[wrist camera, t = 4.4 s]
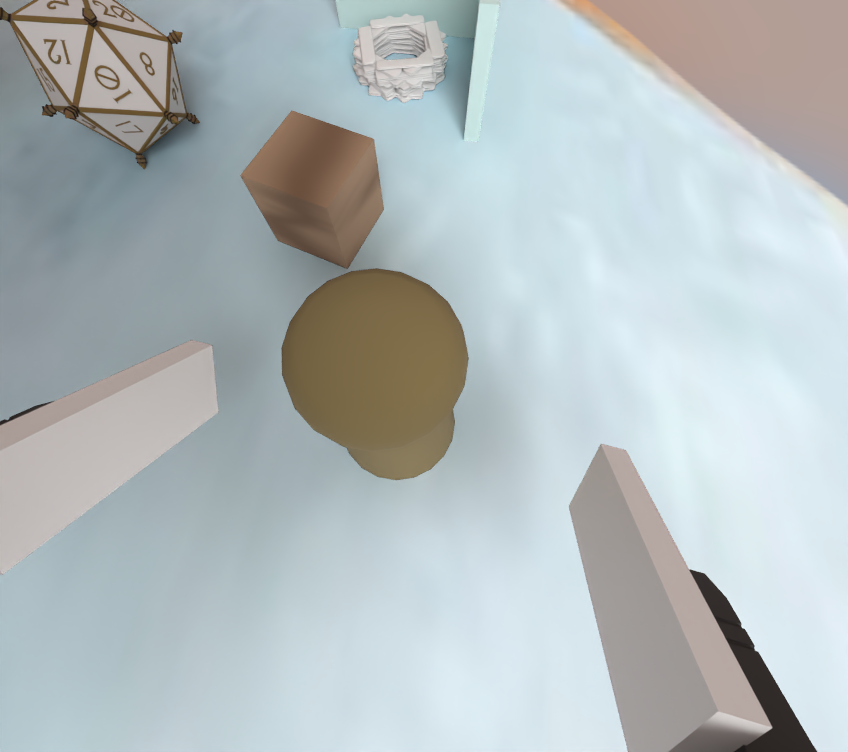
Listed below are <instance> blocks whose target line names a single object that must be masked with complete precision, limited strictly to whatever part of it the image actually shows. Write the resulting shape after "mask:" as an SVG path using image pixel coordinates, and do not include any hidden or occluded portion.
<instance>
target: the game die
mask: <svg viewBox="0 0 848 752" xmlns="http://www.w3.org/2000/svg"><path fill="white" fill-rule="evenodd" d="M2 19H3V20H6V21H8V22H10V24H11V26H12V28H13V30H14V32H15V34H16V36H17V38H18V40H19V42H20V44H21V46H22V48H23V50H24V52H25V54H26V56H27V58H28V60H29V61H30V63H31V65H32V67H33V69H34V71H35V73H36V75H37V77H38V79H39V81H40V83H41V85H42V87H43V89H44V91H45V93H46V95H47V97H48V99H49V101H50V103H51V105H47V104H46V106H45V107H44V106H42V108H43V112H42V115H47V116H50V117H53V115H54V114H56V112H57V111H59V112H61V113H62V114H64V115H65V117H66V118H70V119H73V120H75V121H77V122H79V123H81V124H83V125H84V126H86V127H88V128H90V129H92V130H94V131H95V132H97V133H99V134H101V135H103V136H105V137H106V138H108V139H110V140H112V141H114V142H116V143H117V144H119V145H121V146H123V147H125V148H127V149H128V150H130V151H132V152H134V153H135V154H136V159H137V163H138V164H139V165H140V166H141V167H142V168H143V169H145V165H146V163H147V162H146V161H145V158H144V157H143V155H142V153H143V152H144V151H146V150H147V149H148V148H149V147H150V146H152V145H153V144H154V143H155V142H157V141H158V140H159V139H160V138H162V137H163V136H164V135H165V134H166V133H168V132H169V131H170V130H171V129H173V128H174V127H175V126H176V125H178V124H179V123H180V122H181V121H182V120H184V119H185V118H187V119H188V121H191V122H192V123H194V124H195V123H200V122H199V121H198V120H197V118H196V116H195V115H192V113H190V114H189V113H187V112H186V107H185V103H184V98H183V93H182V89H181V84H180V80H179V75H178V70H177V66H176V61H175V57H174V52H173V47H172V44H173V43H176V44H178V42H180V43H181V37H182V32H176V31H174V30H172V31H173V32H172V33H169V36H168V37H166V36H165V35H163V34H162V33H161V32H159V31H158V30H156V29H155V28H153V27H152V26H151V25H149V24H148V23H146V22H145V21H143V20H142V19H141V18H139V17H138V16H136V15H135V14H134V13H132V12H131V11H129V10H128V9H126V8H125V7H124V6H122V5H121V4H119V3H118V2H117V1H115V0H33V1H32V2H30V3H28V4H27V5H25V6H24V7H22V8H20V9H19V10H17V11H15V12H14V13H12V14H8V13H7V12H5V11H4V10H3V8H2V7H1V8H0V20H2Z"/></svg>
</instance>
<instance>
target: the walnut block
mask: <svg viewBox="0 0 848 752" xmlns="http://www.w3.org/2000/svg"><path fill="white" fill-rule="evenodd" d="M240 176H241V178H242V179H243V181H244V183H245V185H246V186H247V188H248V190H249V191H250V193H251V195H252V197H253V198H254V200H255V202H256V204H257V205H258V207H259V209H260V211H261V212H262V214H263V216H264V217H265V219H266V221H267V223H268V224H269V226H270V228H271V230H272V231H273V233H274V235H275V237H276V238H277V240H278V241H280V242H282V243H285V244H287V245H290V246H292V247H295V248H297V249H300V250H302V251H305V252H307V253H310V254H312V255H314V256H317V257H319V258H322V259H324V260H327V261H329V262H332V263H334V264H337V265H339V266H342V267H344V268H347V269H348V267H349V266H350V264H351V262H352V261H353V259H354V257H355V256H356V254H357V252H358V251H359V249H360V248H361V246H362V244H363V243H364V241H365V239H366V238H367V236H368V234H369V233H370V231H371V230H372V228H373V226H374V225H375V223H376V221H377V220H378V218H379V216H380V215H381V213H382V211H383V210H384V208H383V201H382V194H381V187H380V180H379V172H378V165H377V158H376V151H375V144H374V139H372V138H369V137H367V136H364V135H361V134H358V133H355V132H352V131H349V130H346V129H344V128H341V127H338V126H335V125H332V124H329V123H326V122H323V121H321V120H318V119H315V118H312V117H309V116H306V115H303V114H300V113H297V112H295V111H291V112H290V113H289V115H288V116H287V117H286V118H285V120H284V121H283V122H282V123H281V125H280V126H279V127H278V129H277V130H276V131H275V132H274V134H273V135H272V136H271V137H270V139H269V140H268V141H267V142H266V144H265V145H264V146H263V147H262V149H261V150H260V151H259V152H258V154H257V155H256V156H255V158H254V159H253V160H252V161H251V163H250V164H249V165H248V166H247V168H246V169H245V170H244V171H243V173H242V174H241V175H240Z"/></svg>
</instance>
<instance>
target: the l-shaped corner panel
mask: <svg viewBox="0 0 848 752" xmlns="http://www.w3.org/2000/svg"><path fill="white" fill-rule="evenodd" d="M336 6H337V11H338V17H339V23H340V28H349V29H358V38H357V39H356V40H355V41H354V44H355V45H356V46H355V47H354V48H353V49H354V50H355V51H354V52H353V56H354V57H356V58H354V59H355V60H356V64H355V65H354V66H353V69H354V71H355V72H356V75H357V76H358V77H359V80H358V81H359V82H361V85H369V95H374V96H382V97H383V98H384V99H385V100H387V101H389V100H391V99H393V98H394V97H397V98H398V99H399V100H400V101H401V102H403V103H406V102H408V101H409V100H411V99H422V97H423V92H424V91H426V90H434V89H435V86H436V84H438V83H439V82H441V81H443V80H444V77H445V75H444V74H443V73H444V68H445V67H446V64H445V62H446V61H447V60H448V58H447V55H446V54H445V51H444V50H445V49H447V48H448V47H447V46H448V45H447V44H446V43H443V42H442V41H443V40H444V39H445V38H446V36H451V37H464V38H474V47H473V57H472V66H471V76H470V85H469V94H468V104H467V113H466V123H465V132H464V141H474V142H478V141H479V135H480V128H481V122H482V116H483V109H484V103H485V97H486V91H487V84H488V78H489V72H490V65H491V59H492V53H493V46H494V40H495V34H496V27H497V21H498V15H499V8H500V0H336ZM392 53H404V54H414V55H416V56H417V58H408V59H396V60H385V59H384V58H385V57H386V56H388V55H390V54H392Z"/></svg>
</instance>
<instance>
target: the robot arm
mask: <svg viewBox="0 0 848 752" xmlns="http://www.w3.org/2000/svg"><path fill="white" fill-rule="evenodd" d="M218 412H219V411H218V400H217V390H216V379H215V369H214V359H213V348H212V345H210V344H206V343H202V342H198V341H194V340H190V341H188V342H186V343H184V344H181V345H179V346H177V347H175V348H172V349H170V350H168V351H166V352H163V353H161V354H159V355H157V356H154V357H152V358H150V359H148V360H146V361H143V362H141V363H139V364H137V365H134V366H132V367H130V368H128V369H125V370H123V371H121V372H119V373H116V374H114V375H112V376H110V377H108V378H105V379H103V380H101V381H99V382H96V383H94V384H92V385H90V386H87V387H85V388H83V389H81V390H78V391H76V392H74V393H72V394H70V395H67V396H65V397H63V398H61V399H58V400H56V401H52V402H48V403H45V404H41V405H37V406H34V407H32V408H30V409H27V410H25V411H23V412H21V413H18V414H16V415H14V416H11V417H10V419H9V420H2V421H0V574H2V575H3V574H4V573H6V572H7V571H8V570H10V569H11V568H12V567H14V566H15V565H16V564H18V563H19V562H20V561H22V560H23V559H24V558H26V557H27V556H28V555H30V554H31V553H32V552H34V551H35V550H36V549H38V548H39V547H40V546H42V545H43V544H44V543H46V542H47V541H48V540H50V539H51V538H52V537H54V536H55V535H56V534H58V533H59V532H60V531H62V530H63V529H64V528H66V527H67V526H68V525H70V524H71V523H72V522H74V521H75V520H76V519H77V518H79V517H80V516H81V515H83V514H84V513H85V512H87V511H88V510H89V509H91V508H92V507H93V506H95V505H96V504H97V503H99V502H100V501H101V500H103V499H104V498H105V497H107V496H108V495H109V494H111V493H112V492H113V491H115V490H116V489H117V488H119V487H120V486H121V485H123V484H124V483H125V482H127V481H128V480H129V479H131V478H132V477H133V476H135V475H136V474H137V473H139V472H140V471H141V470H143V469H144V468H145V467H147V466H148V465H149V464H151V463H152V462H153V461H155V460H156V459H157V458H159V457H160V456H161V455H163V454H164V453H165V452H167V451H168V450H169V449H171V448H172V447H173V446H174V445H176V444H177V443H178V442H180V441H181V440H182V439H184V438H185V437H186V436H188V435H189V434H190V433H192V432H193V431H194V430H196V429H197V428H198V427H200V426H201V425H202V424H204V423H205V422H206V421H208V420H209V419H210V418H212V417H213V416H214V415H216V414H217V413H218ZM569 510H570V514H571V518H572V522H573V526H574V530H575V535H576V539H577V543H578V547H579V551H580V555H581V559H582V563H583V568H584V572H585V576H586V580H587V584H588V588H589V592H590V597H591V601H592V605H593V609H594V613H595V617H596V621H597V625H598V630H599V634H600V638H601V642H602V646H603V650H604V654H605V659H606V663H607V667H608V671H609V675H610V679H611V683H612V688H613V692H614V696H615V700H616V704H617V708H618V712H619V716H620V721H621V725H622V729H623V733H624V737H625V741H626V745H627V750H628V752H817V751H816V749H815V748H814V746H813V745H812V743H811V741H810V740H809V738H808V736H807V734H806V733H805V731H804V729H803V728H802V726H801V724H800V723H799V721H798V719H797V717H796V716H795V714H794V712H793V711H792V709H791V707H790V705H789V704H788V702H787V700H786V699H785V697H784V695H783V694H782V692H781V690H780V688H779V687H778V685H777V683H776V682H775V680H774V678H773V676H772V675H771V673H770V671H769V670H768V668H767V666H766V664H765V663H764V661H763V659H762V658H761V656H760V654H759V653H758V652H757V651H755V650H754V644H753V642H752V641H751V639H750V637H749V635H748V634H747V632H746V630H745V629H743V628H742V627H741V622H740V620H739V618H738V617H737V615H736V613H735V612H734V610H733V608H732V606H731V605H730V603H729V601H728V600H727V598H726V597H725V596H724V595H723V593H722V592H721V591H720V590H719V589H718V588H717V587H716V586H715V585H714V584H713V582H712V581H711V580H710V579H709V578H708V577H707V576H706V575H705V574H704V573H700V572H697V571H693V570H689V569H688V567H687V565H686V563H685V561H684V559H683V557H682V555H681V554H680V552H679V550H678V548H677V546H676V544H675V542H674V540H673V538H672V536H671V535H670V533H669V531H668V529H667V527H666V525H665V523H664V521H663V519H662V518H661V516H660V514H659V512H658V510H657V508H656V506H655V504H654V502H653V501H652V499H651V497H650V495H649V493H648V491H647V489H646V487H645V485H644V484H643V482H642V480H641V478H640V476H639V474H638V472H637V470H636V468H635V467H634V465H633V463H632V461H631V459H630V457H629V455H628V453H627V451H626V450H623V449H619V448H616V447H612V446H608V445H604V444H601V445H600V447H599V449H598V450H597V452H596V454H595V456H594V458H593V460H592V462H591V464H590V466H589V468H588V470H587V472H586V474H585V476H584V478H583V480H582V482H581V484H580V485H579V487H578V489H577V491H576V493H575V495H574V497H573V499H572V501H571V503H570V505H569Z"/></svg>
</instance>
